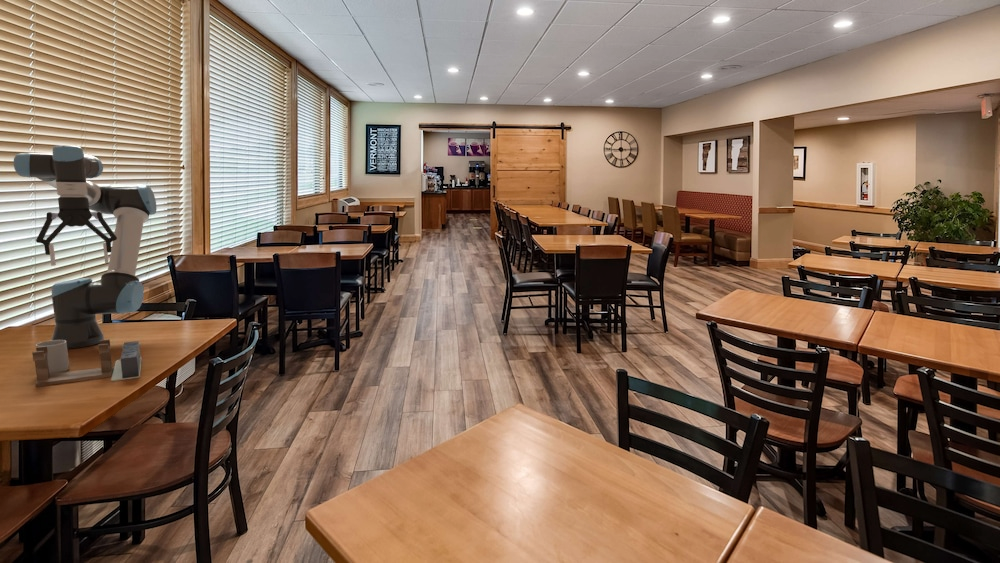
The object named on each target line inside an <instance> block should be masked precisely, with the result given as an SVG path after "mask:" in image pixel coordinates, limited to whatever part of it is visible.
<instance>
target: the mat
mask: <svg viewBox="0 0 1000 563" xmlns="http://www.w3.org/2000/svg"><path fill="white" fill-rule="evenodd" d="M142 361H143V357H142V356H140V369H139V376H137V377H129V378H122V368H121V359H117V360H115V364H114V365H113V373H112V377H110V378H111V379H110V382H117V381H122V380H123V381H124V380H132V379H139V378H141V369H142V368H141V367H142Z"/></svg>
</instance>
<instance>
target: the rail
mask: <svg viewBox="0 0 1000 563" xmlns="http://www.w3.org/2000/svg"><path fill="white" fill-rule="evenodd" d="M140 357H141V350H140V342H139V340H137V341H136V340H135V341H134V340H133V341H126V342H123V346H122V351H121V355H120V360H121V368H122V378H129V377H137V376H139V369H140Z"/></svg>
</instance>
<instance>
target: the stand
mask: <svg viewBox="0 0 1000 563" xmlns="http://www.w3.org/2000/svg"><path fill="white" fill-rule="evenodd" d="M35 349H36V351H32V353H31V355H32V361H33V362H34V365H35V367H34V368H35V374H36V382H35V383H34V385H35V388H37V387H45V386H52V385H59V384H67V383H73V382H81V381H83V382H84V381H90V380H98V379H103V378H104V379H105V378H112V374H113V370H114V365H113V362H112V354H111V340H110V338H109V339H108V338H107V339H104V340H100V343H99V344H97V350H98V354H99V361H100V367H96V368H95V367H94V368H87V369H79V370H71V371H65V372H61V373H55V374H49V366H48V358H47V355H48V349H47V346H42V347H36V346H35Z"/></svg>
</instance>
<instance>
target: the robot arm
mask: <svg viewBox="0 0 1000 563" xmlns="http://www.w3.org/2000/svg"><path fill="white" fill-rule="evenodd" d="M13 168H14V171H15V173H16V174H17V175H19V176H20V177H22V178H36V179H38V180H40V181H42V182H43V183H46V184H47V185H49V186H51V187H53V188H55V189H56V194H57V196H59V197H58V198H57V202H58V203H57V204H58V212H51V211H48V212H47V213H46V220H45V221H44V224H43V226H42V228H41V230H40V231H39V234H38V235H37V237H36V239H35V242H36V243H39V244H42V245H44V253H45V255H46V256H49V258H50V266H51V267H53V266H56V265H57V263H56V256H55V246H54V243H51V242H52V241H53V240H54V239H55V238H56V237H57V236H58V235H59V234H60V233H61V232H62V230H64V229H65V228H66V226H68V227H71V228H73V227H84V226H86V227H87V228H89V229H90V230H91V231H92V232H94V233H95V234H96V235H97V236H98V237H100V239H102V240H103V241H104V242H102V246H103V256H104V263H105V264H108V266H107V271H106V272H105V273H102V274H101V277H100V281H96V282H95V281H93V279H92V278H91V277H83V278H75V279H70V280H64V281H60V282H57V283H54V284H53V285H52V286H51V301H52V308H53V315H54V323H55V325H54V329H53V333H52V336H51V339H50V341H51V340H66V343H67V350H68V349H69V350H70V349H78V348H85V347H90V346H94V345H99V344H100V340H105V335H104V333H103V331H102V329H101V326H100V325H99V323H98V322H97V318H96V315H107V314H108V315H110V314H111V315H112V314H113V315H115V314H117V315H118V314H119V315H124V314H128V313H129V314H130V313H134V312H137V311H138V310H139V309H140V308H141V306H142V304H143V302H144V296H145V289H144V285H143V283H142V281H140V278H139V277H138V276H137V275H136V272H137V265H138V260H139V253H140V246H141V241H142V240H141V239H142V233H143V228H144V224H145V223H147V222H148V221H149V219H150V215H151V216H152V215H155V214H156V213H157V200H156V196H155V194H154V192H153V190H152V188H151V187H150V186H149V185H145V184H109V183H105V184H103V183H102V184H101V183H95V182H93V181H88V180H87V179H94V178H98V177H100V176H101V175H102V173H103V171H104V165H103V163H102V161H101V160H100V159H99V158H98V157H96V156H93V155H91V154H84V150H83V148H82V147H81V146H77V145H61V144H60V145H54V146H53V147H52V153H44V152H43V153H42V152H41V153H40V152H39V153H38V152H37V153H36V152H23V153H21V152H20V153H17V154H15V155H14V158H13ZM92 211H93V212H92ZM103 214H106V215H113V217H115V219H116V223H115V228H114V231H113V230H112V229H111V227H110V226H109V224H108V223H107V222H106V219H104V216H103ZM57 217H58V218H59V219H60V220H61V221H62V222H60V223H59V225H58V226H57V227H56V228H55V229H54V230H53V231H52V232H51V233H50V235H49V236H48V237H47V238H46V239H45V237H46V234H47V233H48V230H49V229H50V226H51V224H52V223H53V220H54V221H55V220H56V219H57ZM92 217H94V219H96V220H98V222H99V223H100V224H101V225H102V227H103V229H104V231H106V232H107V234H108V236H107V235H106V234H105V233H104V232H103V231H101V230H100V229H99V228H98V227H97V226H95V225H94V224H93V223H92V222H91V221H90V220H91V219H92ZM108 253H110V256H109V254H108Z"/></svg>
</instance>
